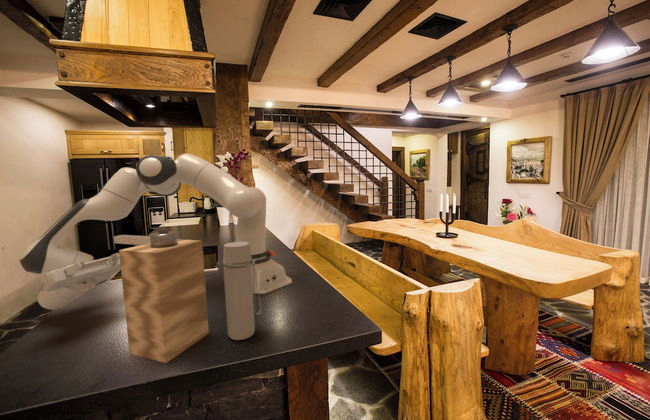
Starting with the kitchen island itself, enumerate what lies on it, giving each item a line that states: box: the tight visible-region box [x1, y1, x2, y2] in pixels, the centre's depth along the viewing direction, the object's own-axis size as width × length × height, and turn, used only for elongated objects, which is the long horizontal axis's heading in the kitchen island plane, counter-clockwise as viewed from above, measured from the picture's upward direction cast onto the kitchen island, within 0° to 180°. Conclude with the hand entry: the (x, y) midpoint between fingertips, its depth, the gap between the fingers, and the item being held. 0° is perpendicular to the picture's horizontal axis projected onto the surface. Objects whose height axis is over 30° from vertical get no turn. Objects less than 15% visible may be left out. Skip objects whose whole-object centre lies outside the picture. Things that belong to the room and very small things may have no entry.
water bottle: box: [222, 241, 262, 341], centre depth 81 cm, size 9×8×25 cm
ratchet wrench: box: [113, 227, 178, 248], centre depth 78 cm, size 20×6×4 cm, turn 69°
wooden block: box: [118, 238, 210, 364], centre depth 78 cm, size 12×14×26 cm
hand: (100, 259), depth 85 cm, fingers open, 8 cm apart
